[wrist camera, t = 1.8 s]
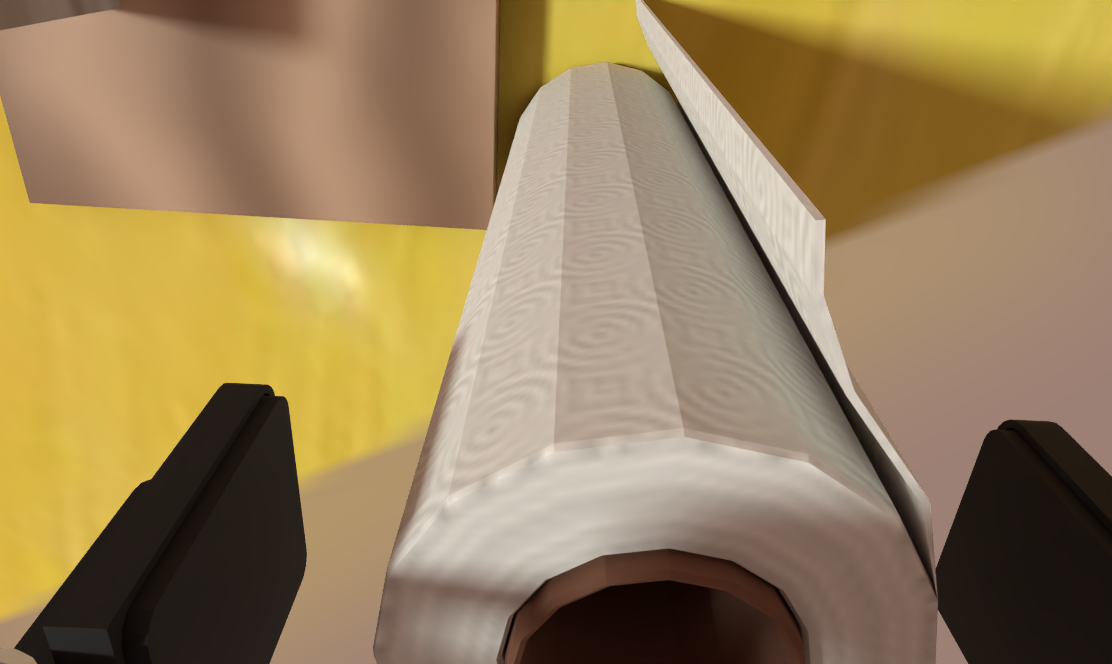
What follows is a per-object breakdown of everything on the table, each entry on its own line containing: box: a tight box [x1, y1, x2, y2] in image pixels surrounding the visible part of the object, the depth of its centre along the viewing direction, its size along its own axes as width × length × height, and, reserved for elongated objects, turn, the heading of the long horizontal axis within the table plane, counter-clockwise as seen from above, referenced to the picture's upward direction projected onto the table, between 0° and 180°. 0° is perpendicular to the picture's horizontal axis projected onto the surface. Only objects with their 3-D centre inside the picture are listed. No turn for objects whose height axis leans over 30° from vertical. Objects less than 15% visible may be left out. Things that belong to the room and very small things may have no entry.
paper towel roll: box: [373, 0, 938, 664], centre depth 17 cm, size 7×6×21 cm
